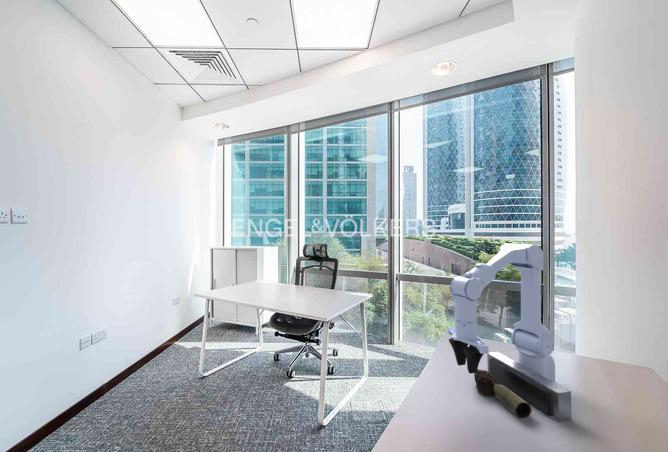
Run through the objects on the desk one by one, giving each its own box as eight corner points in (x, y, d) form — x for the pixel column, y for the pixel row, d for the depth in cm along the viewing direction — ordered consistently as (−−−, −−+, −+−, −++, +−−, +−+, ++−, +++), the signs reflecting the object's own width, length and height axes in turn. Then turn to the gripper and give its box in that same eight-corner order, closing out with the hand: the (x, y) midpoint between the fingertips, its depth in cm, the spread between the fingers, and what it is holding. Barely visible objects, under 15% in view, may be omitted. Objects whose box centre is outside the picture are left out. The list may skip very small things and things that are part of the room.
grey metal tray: (497, 372, 94) (497, 351, 95) (571, 418, 71) (570, 391, 71) (485, 374, 93) (484, 353, 94) (555, 422, 70) (555, 393, 70)
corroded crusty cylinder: (532, 418, 72) (531, 396, 72) (509, 421, 71) (508, 399, 71) (484, 381, 89) (484, 363, 89) (465, 383, 88) (465, 365, 88)
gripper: (438, 313, 85) (439, 358, 85) (471, 330, 71) (472, 384, 71) (458, 311, 86) (459, 356, 86) (494, 327, 72) (496, 380, 72)
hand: (466, 368), depth 79 cm, fingers open, 4 cm apart
